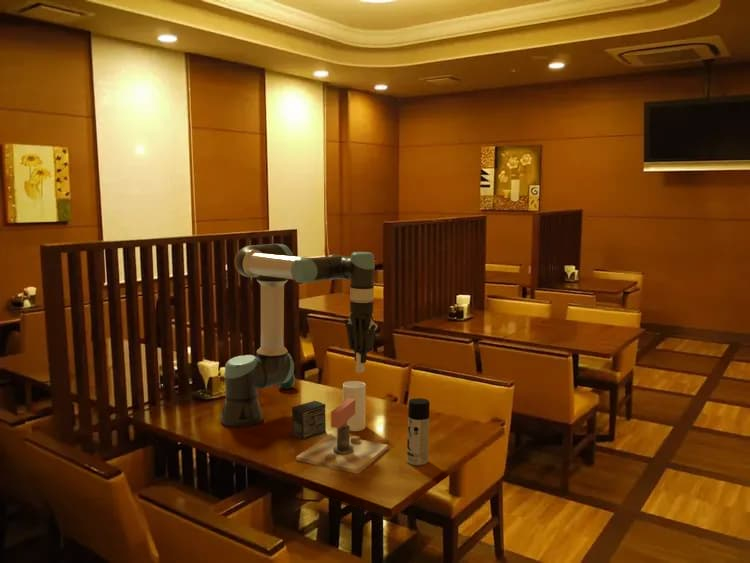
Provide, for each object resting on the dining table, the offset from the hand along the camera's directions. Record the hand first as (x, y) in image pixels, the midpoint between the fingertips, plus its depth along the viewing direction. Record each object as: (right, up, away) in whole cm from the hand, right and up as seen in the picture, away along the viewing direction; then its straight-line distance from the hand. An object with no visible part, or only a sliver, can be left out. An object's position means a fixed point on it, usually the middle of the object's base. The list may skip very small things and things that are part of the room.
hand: (360, 371), depth 207 cm
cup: (-3, -24, +24) cm, 34 cm away
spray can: (+18, -28, -5) cm, 34 cm away
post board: (-5, -27, 0) cm, 27 cm away
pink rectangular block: (-5, -17, -1) cm, 18 cm away
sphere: (-34, -17, +68) cm, 78 cm away
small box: (-18, -24, +17) cm, 35 cm away
